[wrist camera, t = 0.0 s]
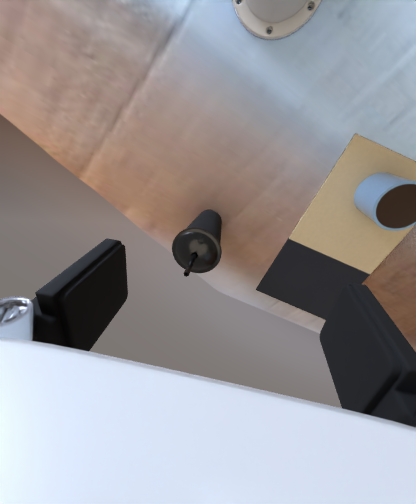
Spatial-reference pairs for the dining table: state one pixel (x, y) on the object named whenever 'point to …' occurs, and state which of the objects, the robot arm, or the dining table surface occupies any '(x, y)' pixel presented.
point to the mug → (387, 200)
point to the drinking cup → (199, 244)
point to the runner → (336, 234)
